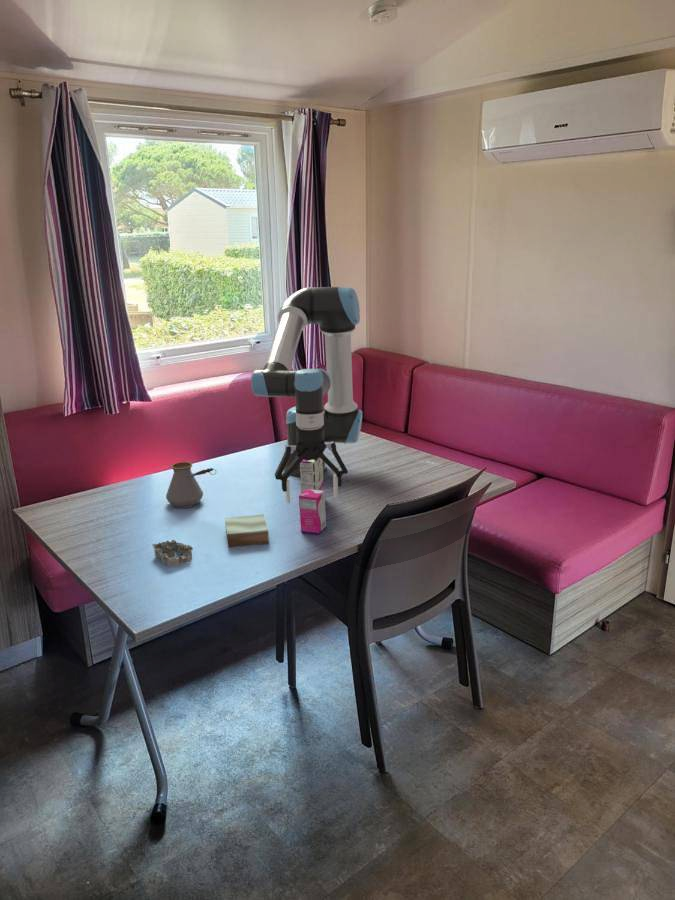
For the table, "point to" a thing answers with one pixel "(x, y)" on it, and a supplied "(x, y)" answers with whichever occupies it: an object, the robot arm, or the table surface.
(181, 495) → the coffee pot
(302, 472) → the candy bar box
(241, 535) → the block
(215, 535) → the table surface
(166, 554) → the rocky terrain model
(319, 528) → the supplement box
